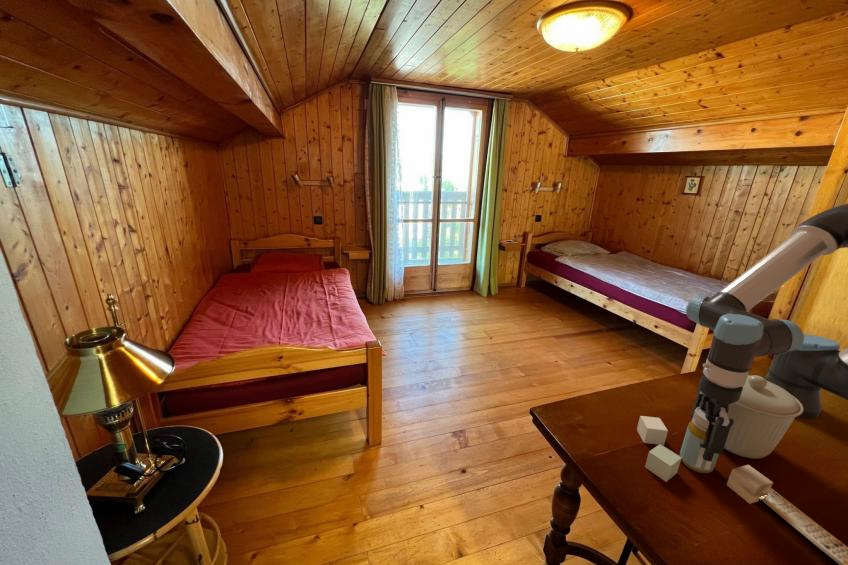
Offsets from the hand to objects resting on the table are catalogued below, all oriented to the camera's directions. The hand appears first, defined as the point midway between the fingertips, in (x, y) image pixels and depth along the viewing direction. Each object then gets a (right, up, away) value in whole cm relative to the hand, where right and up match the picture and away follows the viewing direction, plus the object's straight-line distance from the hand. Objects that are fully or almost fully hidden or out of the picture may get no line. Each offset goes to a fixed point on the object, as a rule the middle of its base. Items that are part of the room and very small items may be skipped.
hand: (697, 457), depth 88 cm
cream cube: (-6, +1, +9) cm, 11 cm away
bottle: (0, -2, +1) cm, 2 cm away
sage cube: (-10, -3, -1) cm, 11 cm away
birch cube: (+6, -5, -7) cm, 10 cm away
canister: (+16, 0, +7) cm, 17 cm away
